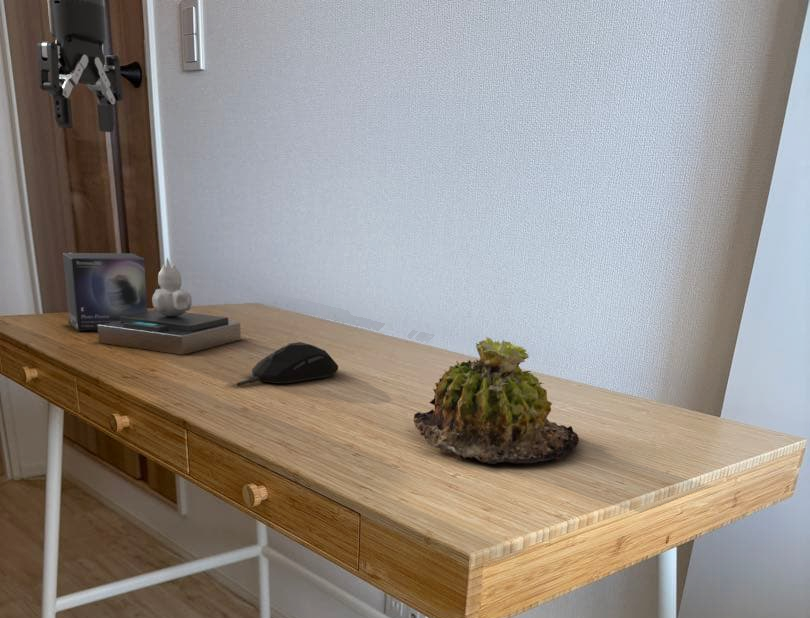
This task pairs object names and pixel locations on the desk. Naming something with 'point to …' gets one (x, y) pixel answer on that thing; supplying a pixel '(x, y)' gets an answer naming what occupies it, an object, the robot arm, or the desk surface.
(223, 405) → the desk surface
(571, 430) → the cactus
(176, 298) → the beige lumpy figurine
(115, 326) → the scale
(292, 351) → the gaming mouse
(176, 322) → the scale pan
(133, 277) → the small box
